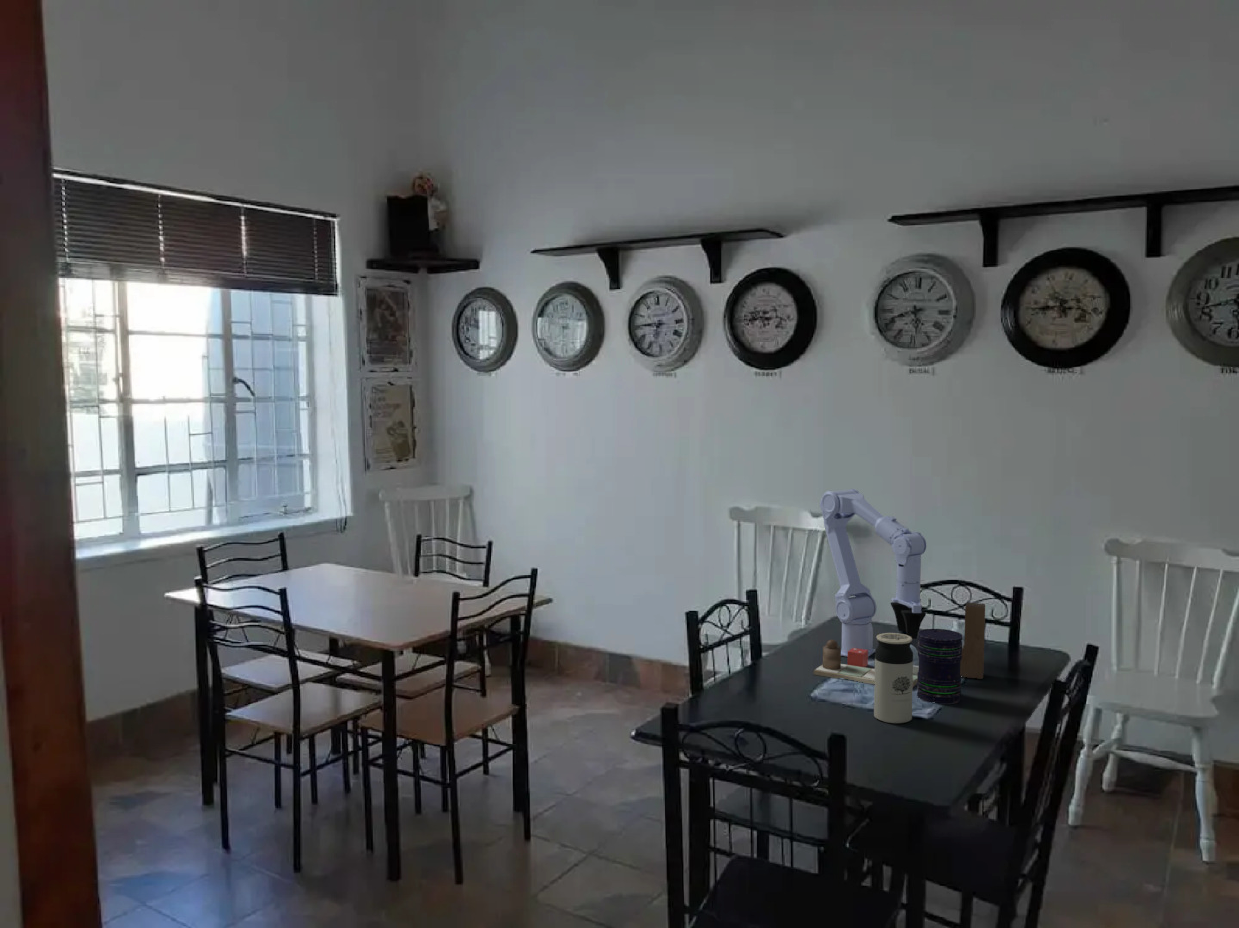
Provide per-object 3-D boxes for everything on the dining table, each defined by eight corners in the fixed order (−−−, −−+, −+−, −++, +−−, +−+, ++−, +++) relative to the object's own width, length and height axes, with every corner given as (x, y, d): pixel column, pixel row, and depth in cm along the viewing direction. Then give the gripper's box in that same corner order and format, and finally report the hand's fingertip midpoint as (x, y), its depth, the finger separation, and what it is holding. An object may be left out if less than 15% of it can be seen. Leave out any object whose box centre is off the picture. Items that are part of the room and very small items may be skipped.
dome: (897, 659, 254) (897, 638, 254) (924, 663, 250) (925, 642, 250) (888, 666, 248) (889, 645, 248) (916, 670, 244) (917, 649, 244)
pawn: (826, 663, 252) (826, 636, 252) (843, 666, 250) (843, 638, 249) (820, 668, 249) (820, 640, 248) (837, 670, 246) (837, 643, 246)
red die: (852, 662, 257) (852, 647, 256) (867, 665, 255) (868, 649, 254) (847, 666, 253) (847, 651, 253) (862, 669, 251) (862, 653, 251)
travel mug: (870, 711, 220) (871, 632, 219) (906, 711, 220) (908, 632, 218) (878, 724, 212) (880, 642, 211) (916, 724, 212) (917, 642, 210)
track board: (826, 665, 255) (826, 660, 255) (920, 680, 242) (920, 675, 242) (813, 674, 247) (813, 669, 247) (910, 690, 234) (910, 685, 234)
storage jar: (968, 703, 225) (970, 639, 224) (926, 705, 224) (927, 640, 223) (950, 689, 235) (952, 628, 233) (910, 691, 234) (911, 629, 233)
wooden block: (944, 675, 245) (945, 604, 244) (945, 670, 250) (947, 600, 248) (982, 679, 242) (984, 607, 240) (983, 674, 246) (985, 603, 245)
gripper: (884, 575, 254) (883, 627, 256) (901, 587, 240) (900, 642, 241) (911, 575, 254) (910, 627, 256) (930, 587, 240) (929, 642, 241)
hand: (907, 634), depth 248 cm, fingers open, 7 cm apart
